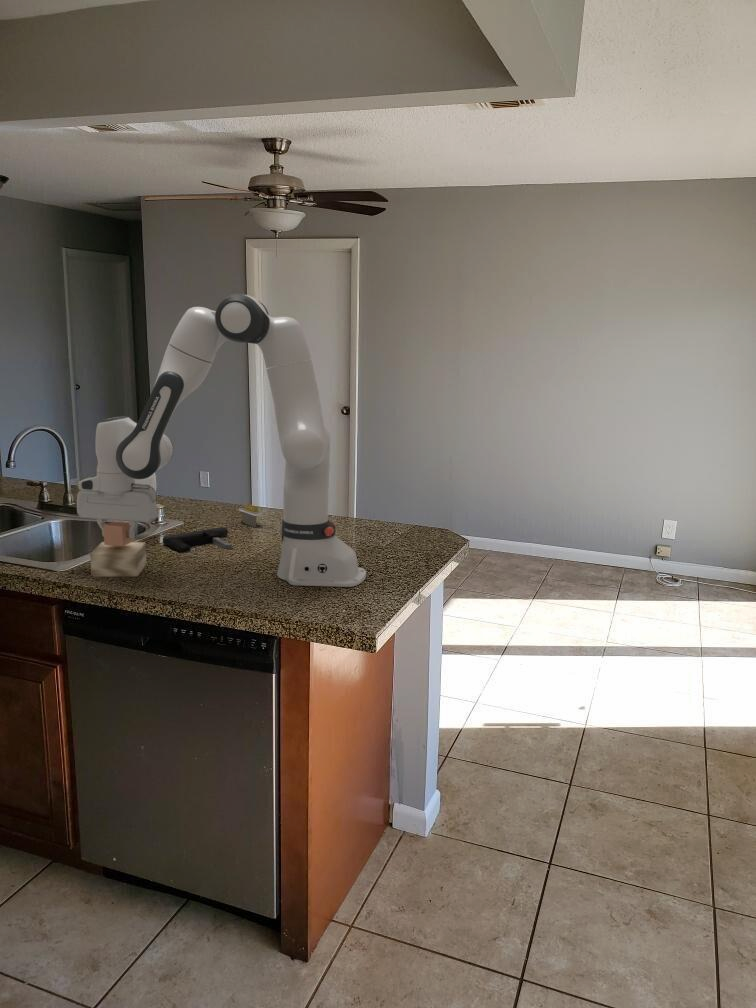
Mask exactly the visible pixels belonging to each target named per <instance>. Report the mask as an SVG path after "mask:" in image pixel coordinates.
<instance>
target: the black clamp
mask: <svg viewBox="0 0 756 1008" xmlns="http://www.w3.org/2000/svg"><path fill="white" fill-rule="evenodd" d="M228 534H229V533H228V528H227V527H222V526H221V527H215V528H214V527H213V528H209V529H201V530H194V531H187V532H182V533H175V534H168V535H165V536H164V537H163V538H162V543H163V544H164V545H165V546H167V547H168V546H169V548H171V549H173V550H175V551H177V552H178V553H188V552H191V548H193V547H199V546H205V545H206V546H207V545H211V544H212V545H215V546H217V547H220V548H222V549H225V550H230V549H233V545H232V543H230V542H229V541H226V540H224V539H222V538H224V537H226V536H228Z"/></svg>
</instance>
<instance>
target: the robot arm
mask: <svg viewBox="0 0 756 1008" xmlns="http://www.w3.org/2000/svg"><path fill="white" fill-rule="evenodd" d="M227 341H231V342H232V341H233V342H235V343H239V344H253V345H257V346H258V347H259V349H260V352H262V353H261V354H262V355H263V359H264V360H263V361H264V364H265V368H266V369H265V370H266V373H267V379H268V382H269V387H270V391H271V395H272V400H273V404H274V405H273V406H274V414H275V421H276V426H277V432H278V438H279V443H280V448H281V452H282V453H281V455H282V456H283V458H284V461H285V467H284V481H283V482H284V483H283V518H282V520H281V526H280V527H281V528H280V535H281V536H280V537H281V542H282V543H281V544H282V547H281V554H280V561H279V565H278V568H277V572H276V576H277V577H278V578H279V579H281V580H283V581H285V582H288V584H290V585H292V586H307V587H308V586H309V587H313V586H314V587H337V588H338V587H340V588H342V587H343V588H344V587H346V588H347V587H349V588H351V587H355V586H356V587H357V586H358V585H360V584H361V583H363V582H364V581H365V580H366V579H367V578H366V577H367V571H366V569H365V568H364V567H360V566H359V563H358V559H357V558H358V557H357V553H356V552H355V549H353V548H351V547H350V546H349V545H348V544H347V543H346V542H345V541H343V540H341V538H339V537H338V536H337V535H336V533H337V532H336V528H337V522H334V523H333V522H332V521H331V520H329V482H330V481H329V480H330V461H331V460H330V459H331V457H330V455H331V435H330V432H329V429H328V427H326V425H325V424H324V423H325V422H324V419H323V413H322V406H321V400H320V394H319V389H318V383H317V379H316V373H315V369H314V365H313V360H312V357H311V355H312V354H311V352H310V348H309V344H308V341H307V339H306V336H305V333H304V331H303V328H302V325H301V324H300V322H299V321H298V320H297V319H296V318H293V317H290V316H276V317H274V316H271V315H269V311H268V309H267V307H266V306H265V305H264V304H263V303H262V302H261V301H260V300H258V299H257V298H255V297H254V296H252V295H248V294H242V293H234V294H230V295H228V296H226V297H224V298H222V300H220V302H219V303H218V305H217V306H216V309H215V310H212V309H210V308H207V307H204V306H193V307H190V308H188V309H187V310H186V311H185V313H184V314H183V315H182V317H181V319H180V320H179V321H178V324H177V325H176V326H175V329H174V331H173V332H172V335H171V337H170V339H169V342H168V344H167V347H166V349H165V352H164V355H163V358H162V361H161V364H160V368H159V370H158V374H157V377H156V379H155V383H154V386H153V388H152V391H151V393H150V395H149V397H148V399H147V402H146V403H145V405H144V408H143V410H142V412H141V414H140V417H139V419H138V421H137V422H136V421H134V420H132V418H130V417H129V416H125V415H121V416H113V417H110V418H105V419H102V420H101V421H99V422H98V423H97V425H96V429H95V441H94V442H95V455H96V457H97V458H96V459H97V466H96V475H93V476H90V477H87V478H85V479H82V480H80V481H78V483H77V486H78V487H77V488H78V489H79V491H78V492H77V496H76V512H77V513H76V514H77V515H78V516H79V517H80V518H82V519H84V518H86V519H95V520H96V523H97V524H98V526H99V528H100V529H101V535H102V537H104V527H103V525H105V524H107V523H106V522H107V520H109V521H110V520H111V521H124V522H129V525H132V526H131V528H130V530H128V531H126V538H133V539H134V538H135V537H136V536H135V534H136V533H135V531H136V529H137V527H138V526H139V522H140V523H151V522H154V521H155V520H156V519H157V518H158V514H159V513H158V508H157V507H158V506H157V501H156V499H157V490H156V491H155V490H154V488H153V487H151V486H150V485H147V484H145V485H142V484H135V479H145V478H148V477H150V476H151V475H153V474H154V473H155V474H156V472H157V471H158V470H160V469H162V468H164V466H166V465H167V464H168V463H169V462H170V461H171V460H172V458H173V455H174V446H173V442H172V440H171V439H170V438H169V436H167V434H165V432H166V430H167V428H168V426H169V424H170V421H171V419H172V417H173V414H174V412H175V410H177V408H178V406H179V405H180V404H181V403H182V401H183V400H185V398H187V397H188V396H189V395H190V394H192V393H193V392H195V391H196V390H197V389H199V387H200V386H201V385H202V384H203V382H204V381H205V379H206V378H207V376H208V375H209V372H210V370H211V368H212V366H213V363H214V361H215V358H216V355H217V353H218V351H219V349H220V348H221V346H222V345H223V344H224V343H225V342H227ZM150 488H151V489H150Z"/></svg>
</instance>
